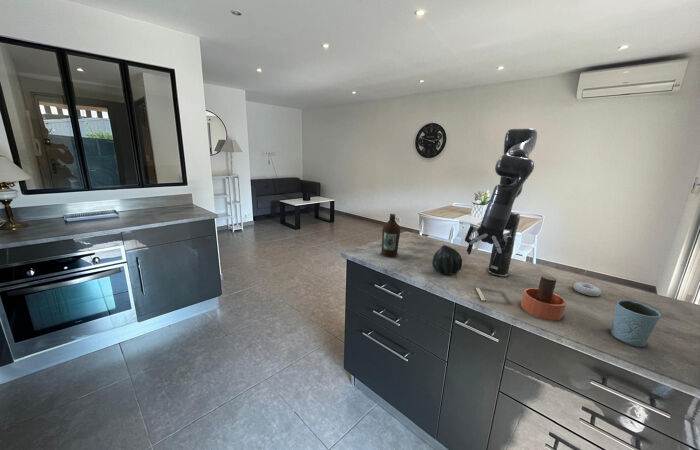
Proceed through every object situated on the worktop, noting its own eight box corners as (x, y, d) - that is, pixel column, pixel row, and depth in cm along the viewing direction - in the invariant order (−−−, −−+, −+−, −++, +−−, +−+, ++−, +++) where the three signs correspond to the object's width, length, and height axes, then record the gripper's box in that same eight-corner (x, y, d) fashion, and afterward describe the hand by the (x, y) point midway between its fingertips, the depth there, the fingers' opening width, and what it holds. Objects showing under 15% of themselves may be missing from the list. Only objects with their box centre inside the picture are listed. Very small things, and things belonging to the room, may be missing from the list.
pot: (515, 299, 113) (518, 285, 112) (551, 304, 110) (555, 290, 109) (528, 317, 100) (532, 302, 99) (569, 323, 98) (574, 308, 96)
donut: (599, 292, 124) (571, 284, 130) (601, 285, 123) (573, 278, 129) (600, 300, 116) (571, 292, 122) (603, 293, 115) (574, 285, 121)
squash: (473, 267, 132) (459, 240, 138) (450, 272, 126) (438, 244, 131) (454, 275, 144) (443, 250, 149) (433, 281, 137) (422, 254, 143)
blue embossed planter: (636, 333, 93) (647, 303, 90) (657, 352, 84) (670, 319, 81) (601, 326, 97) (610, 297, 94) (617, 344, 87) (628, 312, 84)
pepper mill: (531, 305, 108) (539, 274, 105) (544, 307, 107) (552, 275, 104) (536, 312, 103) (545, 279, 100) (550, 314, 102) (559, 281, 99)
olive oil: (382, 250, 167) (385, 211, 160) (398, 252, 164) (402, 213, 158) (379, 256, 157) (382, 215, 150) (397, 258, 154) (401, 216, 148)
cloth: (475, 288, 122) (476, 287, 122) (501, 292, 119) (502, 291, 119) (481, 300, 111) (481, 299, 111) (510, 304, 109) (510, 303, 109)
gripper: (518, 219, 92) (501, 260, 97) (474, 208, 97) (461, 248, 102) (521, 223, 85) (503, 267, 90) (474, 211, 90) (460, 254, 95)
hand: (481, 257), depth 96 cm, fingers open, 8 cm apart
